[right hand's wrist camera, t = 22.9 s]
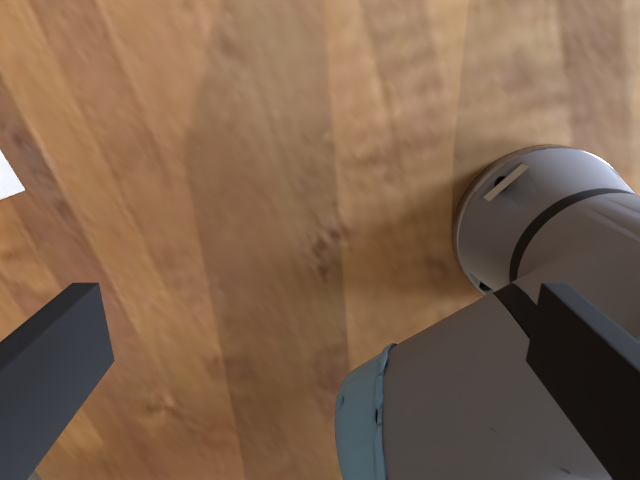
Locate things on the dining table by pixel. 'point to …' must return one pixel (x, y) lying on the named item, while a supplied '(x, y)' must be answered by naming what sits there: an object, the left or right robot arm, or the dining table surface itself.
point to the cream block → (8, 179)
